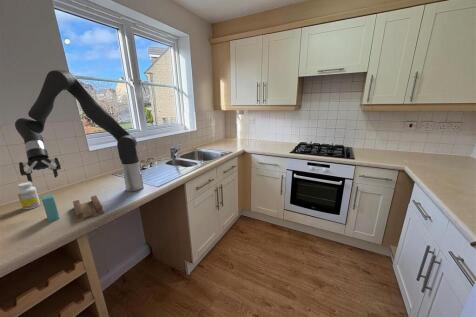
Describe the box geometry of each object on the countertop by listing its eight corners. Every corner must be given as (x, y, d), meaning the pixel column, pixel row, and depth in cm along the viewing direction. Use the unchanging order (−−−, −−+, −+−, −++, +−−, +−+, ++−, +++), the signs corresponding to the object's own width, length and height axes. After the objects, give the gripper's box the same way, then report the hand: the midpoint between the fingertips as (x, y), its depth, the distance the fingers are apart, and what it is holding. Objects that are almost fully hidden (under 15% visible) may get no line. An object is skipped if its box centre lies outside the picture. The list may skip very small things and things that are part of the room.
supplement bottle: (27, 204, 105) (20, 182, 102) (43, 202, 108) (36, 180, 104) (19, 211, 99) (11, 187, 96) (36, 208, 102) (29, 185, 98)
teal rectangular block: (58, 214, 96) (52, 193, 93) (59, 218, 93) (52, 197, 90) (48, 217, 94) (42, 195, 91) (48, 221, 90) (41, 199, 87)
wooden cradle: (97, 201, 109) (96, 195, 108) (103, 213, 97) (102, 206, 96) (74, 207, 102) (72, 201, 101) (77, 221, 90) (76, 214, 89)
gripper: (14, 149, 93) (21, 179, 89) (54, 145, 103) (62, 171, 99) (17, 158, 98) (24, 186, 94) (56, 153, 108) (63, 178, 104)
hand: (43, 178), depth 96 cm, fingers open, 8 cm apart
